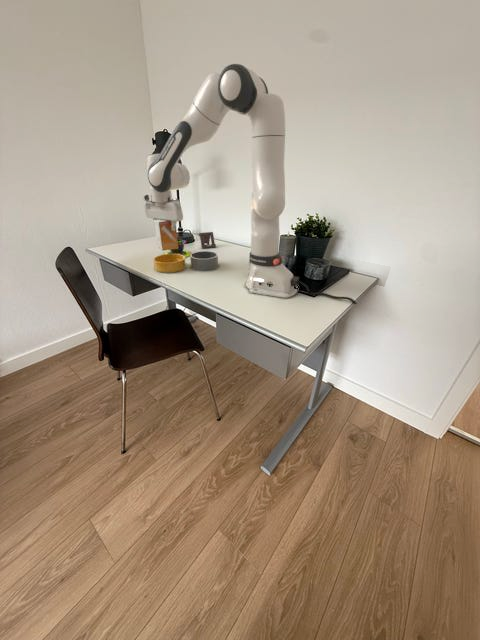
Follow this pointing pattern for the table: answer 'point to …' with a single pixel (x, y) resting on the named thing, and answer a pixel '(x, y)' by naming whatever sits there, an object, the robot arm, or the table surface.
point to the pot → (204, 260)
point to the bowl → (169, 263)
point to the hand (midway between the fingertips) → (165, 229)
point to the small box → (165, 235)
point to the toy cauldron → (179, 249)
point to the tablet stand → (207, 239)
